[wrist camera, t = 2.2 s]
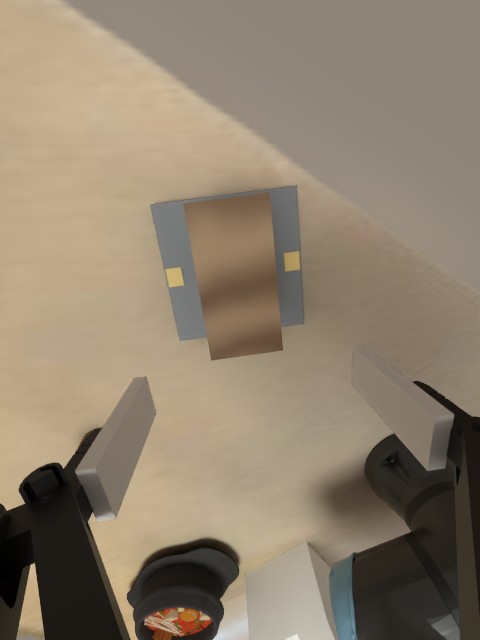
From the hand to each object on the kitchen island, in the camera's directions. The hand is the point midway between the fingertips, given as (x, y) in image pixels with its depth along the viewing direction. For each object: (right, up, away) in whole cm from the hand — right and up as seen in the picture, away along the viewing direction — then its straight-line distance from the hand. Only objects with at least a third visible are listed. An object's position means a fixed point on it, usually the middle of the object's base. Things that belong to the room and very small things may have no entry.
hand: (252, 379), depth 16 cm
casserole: (-13, -50, +38) cm, 64 cm away
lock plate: (-2, +11, +19) cm, 22 cm away
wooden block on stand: (-2, +11, +17) cm, 21 cm away
